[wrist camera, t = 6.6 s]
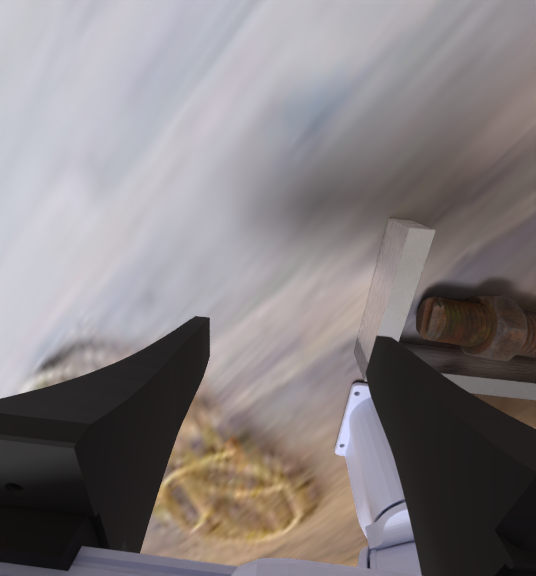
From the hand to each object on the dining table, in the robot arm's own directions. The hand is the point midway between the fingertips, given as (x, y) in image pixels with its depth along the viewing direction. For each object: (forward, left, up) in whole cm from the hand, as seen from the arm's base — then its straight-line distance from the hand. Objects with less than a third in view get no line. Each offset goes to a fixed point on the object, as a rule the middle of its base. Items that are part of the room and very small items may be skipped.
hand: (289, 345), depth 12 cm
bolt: (-2, -18, -10) cm, 21 cm away
